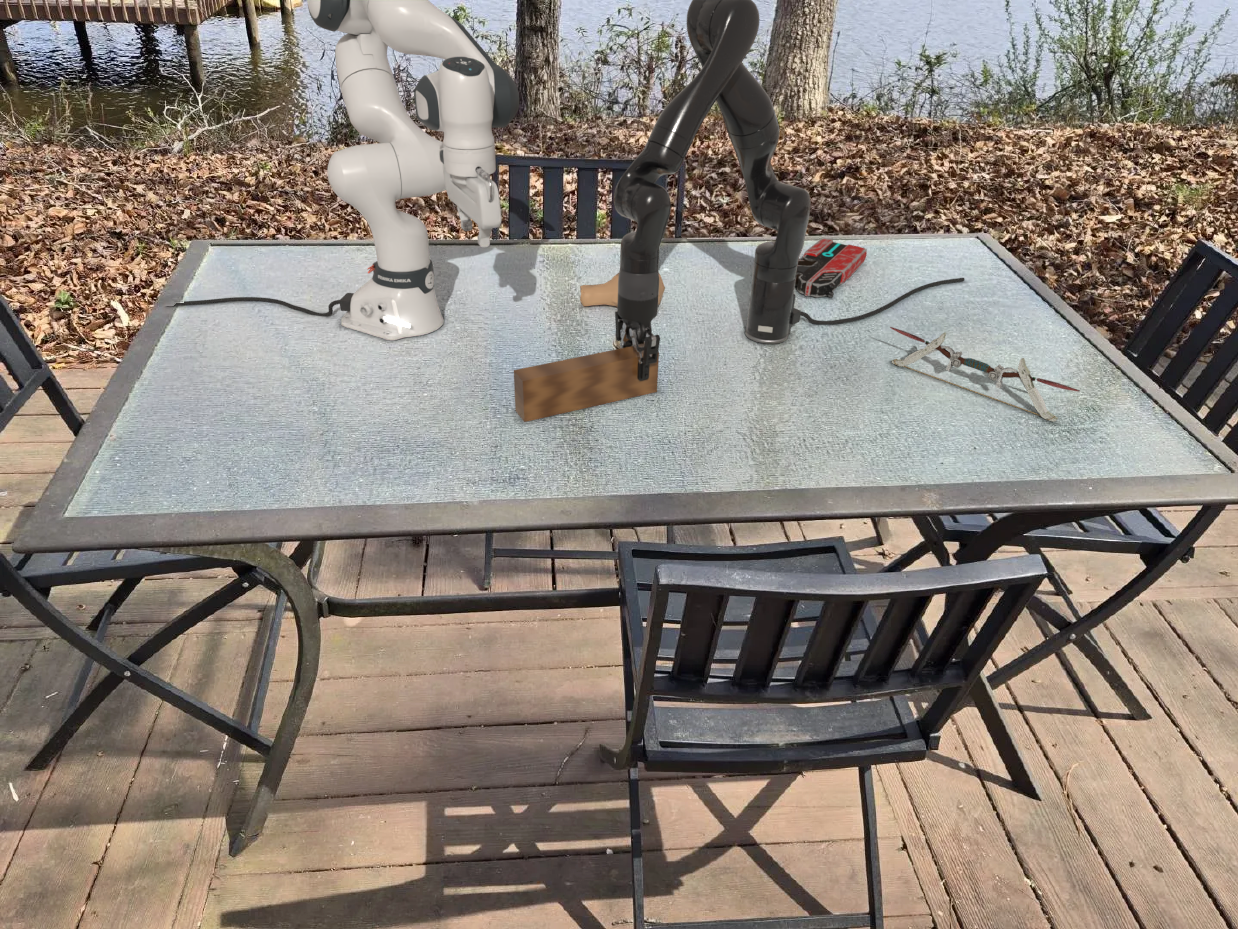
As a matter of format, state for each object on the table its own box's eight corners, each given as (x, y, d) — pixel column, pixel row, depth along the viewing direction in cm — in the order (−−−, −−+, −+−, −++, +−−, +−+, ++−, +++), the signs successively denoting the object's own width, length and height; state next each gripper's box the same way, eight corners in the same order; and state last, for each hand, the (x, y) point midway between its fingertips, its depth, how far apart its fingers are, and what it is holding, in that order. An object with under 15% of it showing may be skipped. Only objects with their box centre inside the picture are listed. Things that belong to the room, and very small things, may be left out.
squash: (667, 316, 202) (664, 283, 196) (581, 324, 204) (575, 291, 198) (665, 291, 210) (662, 258, 204) (583, 298, 212) (577, 266, 205)
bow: (1069, 424, 166) (1086, 377, 160) (1066, 427, 164) (1083, 380, 159) (885, 357, 187) (894, 314, 181) (880, 360, 186) (890, 317, 180)
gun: (756, 267, 217) (831, 286, 209) (802, 230, 239) (871, 246, 231) (754, 284, 219) (828, 303, 212) (800, 246, 241) (868, 263, 233)
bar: (524, 422, 162) (522, 381, 157) (515, 410, 165) (513, 369, 160) (656, 391, 172) (659, 352, 168) (645, 381, 176) (647, 342, 171)
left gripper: (508, 174, 147) (511, 253, 154) (468, 145, 162) (473, 219, 169) (472, 178, 144) (477, 258, 152) (435, 148, 159) (442, 223, 167)
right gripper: (675, 301, 157) (670, 384, 166) (638, 274, 168) (635, 353, 177) (638, 308, 154) (635, 392, 163) (602, 280, 165) (601, 360, 174)
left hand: (475, 237), depth 161 cm, fingers open, 8 cm apart
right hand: (635, 371), depth 170 cm, fingers open, 6 cm apart
